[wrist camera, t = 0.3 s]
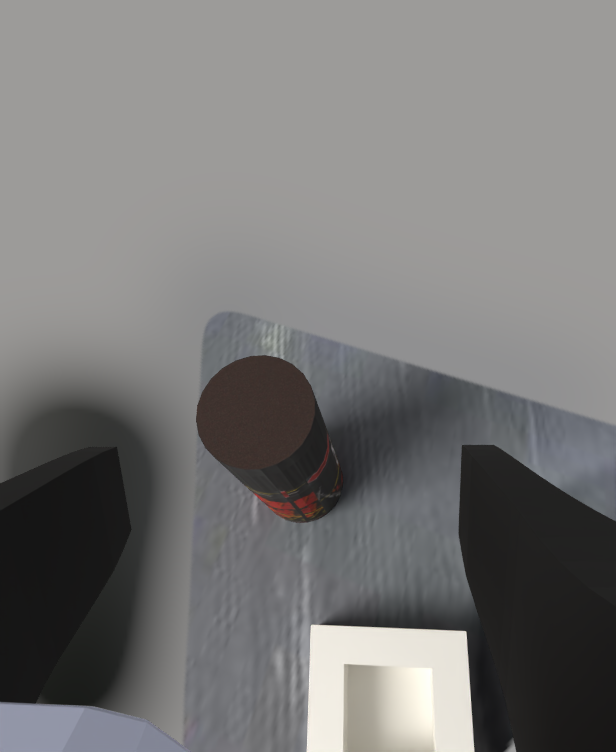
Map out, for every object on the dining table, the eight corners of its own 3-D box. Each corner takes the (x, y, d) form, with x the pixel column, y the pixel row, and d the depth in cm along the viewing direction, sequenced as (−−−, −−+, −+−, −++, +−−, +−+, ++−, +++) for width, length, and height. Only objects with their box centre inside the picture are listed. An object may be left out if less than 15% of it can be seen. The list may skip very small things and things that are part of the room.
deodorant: (246, 475, 42) (174, 403, 28) (310, 426, 43) (269, 333, 29) (293, 540, 40) (239, 496, 26) (359, 487, 40) (340, 417, 27)
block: (470, 802, 33) (479, 824, 29) (315, 788, 34) (305, 808, 30) (459, 630, 36) (466, 631, 33) (319, 624, 37) (311, 624, 34)
